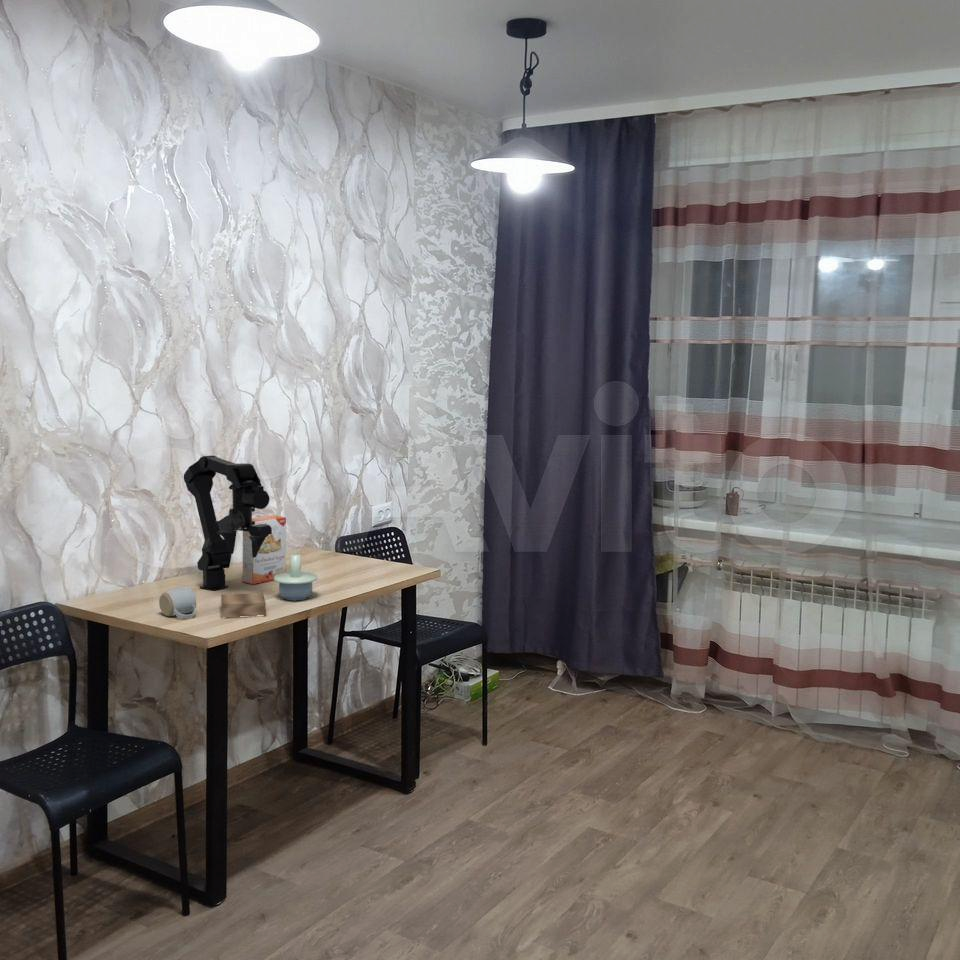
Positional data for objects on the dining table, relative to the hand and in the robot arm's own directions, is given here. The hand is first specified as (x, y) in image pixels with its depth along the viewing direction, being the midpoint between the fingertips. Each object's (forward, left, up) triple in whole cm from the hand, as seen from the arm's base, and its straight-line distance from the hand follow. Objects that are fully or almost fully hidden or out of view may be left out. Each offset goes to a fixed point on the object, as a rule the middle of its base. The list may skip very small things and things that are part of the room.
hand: (242, 555), depth 299 cm
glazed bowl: (+14, +8, -13) cm, 21 cm away
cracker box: (-10, +21, -13) cm, 27 cm away
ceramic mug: (0, -25, -13) cm, 28 cm away
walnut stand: (+12, -13, -13) cm, 22 cm away
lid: (+14, +8, -7) cm, 18 cm away
